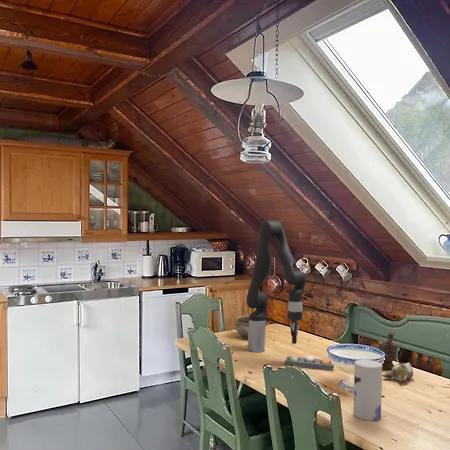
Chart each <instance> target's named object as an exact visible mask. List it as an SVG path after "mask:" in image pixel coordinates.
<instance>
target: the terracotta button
mask: <svg viewBox="0 0 450 450" xmlns="http://www.w3.org/2000/svg"><path fill="white" fill-rule="evenodd" d="M321 360H322V364H330V361H329V359H321Z"/></svg>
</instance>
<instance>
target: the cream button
mask: <svg viewBox="0 0 450 450" xmlns="http://www.w3.org/2000/svg"><path fill="white" fill-rule="evenodd" d="M305 358H306V362H312V363H314V359H315V358H314V356H313V355H306V356H305Z"/></svg>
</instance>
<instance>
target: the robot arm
mask: <svg viewBox="0 0 450 450" xmlns="http://www.w3.org/2000/svg"><path fill="white" fill-rule="evenodd" d="M270 238H275V240H276V241H277V244H278V250H277V251H278V252H277V253H278V254H277V255H278V259H279V261H280V263H281V265H282V267H283V272H284V273H283V274H284V278H285V280H286V282H287V284H288V285H290V286H293V288H291V289H289V291H288V302H287V319H288V320H291V322H290V325H289V326H290V336H291V344H293V345H295V344H296V345H297V343H298V342H297V338H298V333H299V326H300V322H299V321H301V320H303V312H304V311H303V293H304V290H305V286H306V283H307V276H306V273H305V271H303V270H294V269H295V268H296V267H297V262H296V259H295V257H294V255H293V254H292V251H291V250H290V247H289V244H288V241H287V240H288V239H287V237H286V234H285V230H284V228H283V225H282V223H281V222H280V221H279V220H275V219H274V220H273V219H271V220H269V219H268V220H263V221H262V222H261V224H260V227H259V236H258V245H257V252H256V258H255V261H254V266H253V273H252V277H251V281H250V284H249V288H248V291H247V295H246V305H247V307H248V308H249V309H254V311H253V312H251V313H250V314H249V315H248V316H249V332H248V339H247V350H248V351H249V352H253V353H262V352H264V351H265V347H266V346H265V345H266V328H265V325H266V324H265V323H266V317H267V314H268V313H267V312H268V295H267V293H266V292H265V291H262V290H261V291H260V288H261V286H262V285H263V283H264V281H266V279H267V278H268V276H269V275H270V273H271V269H272V265H273V259H272V258H273V257H272V254H271V252H270V248H269V243H270Z"/></svg>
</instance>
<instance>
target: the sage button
mask: <svg viewBox="0 0 450 450" xmlns="http://www.w3.org/2000/svg"><path fill="white" fill-rule="evenodd" d="M298 357H299V356H293V355H292V356H291V357H290V360H293V361H298Z"/></svg>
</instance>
